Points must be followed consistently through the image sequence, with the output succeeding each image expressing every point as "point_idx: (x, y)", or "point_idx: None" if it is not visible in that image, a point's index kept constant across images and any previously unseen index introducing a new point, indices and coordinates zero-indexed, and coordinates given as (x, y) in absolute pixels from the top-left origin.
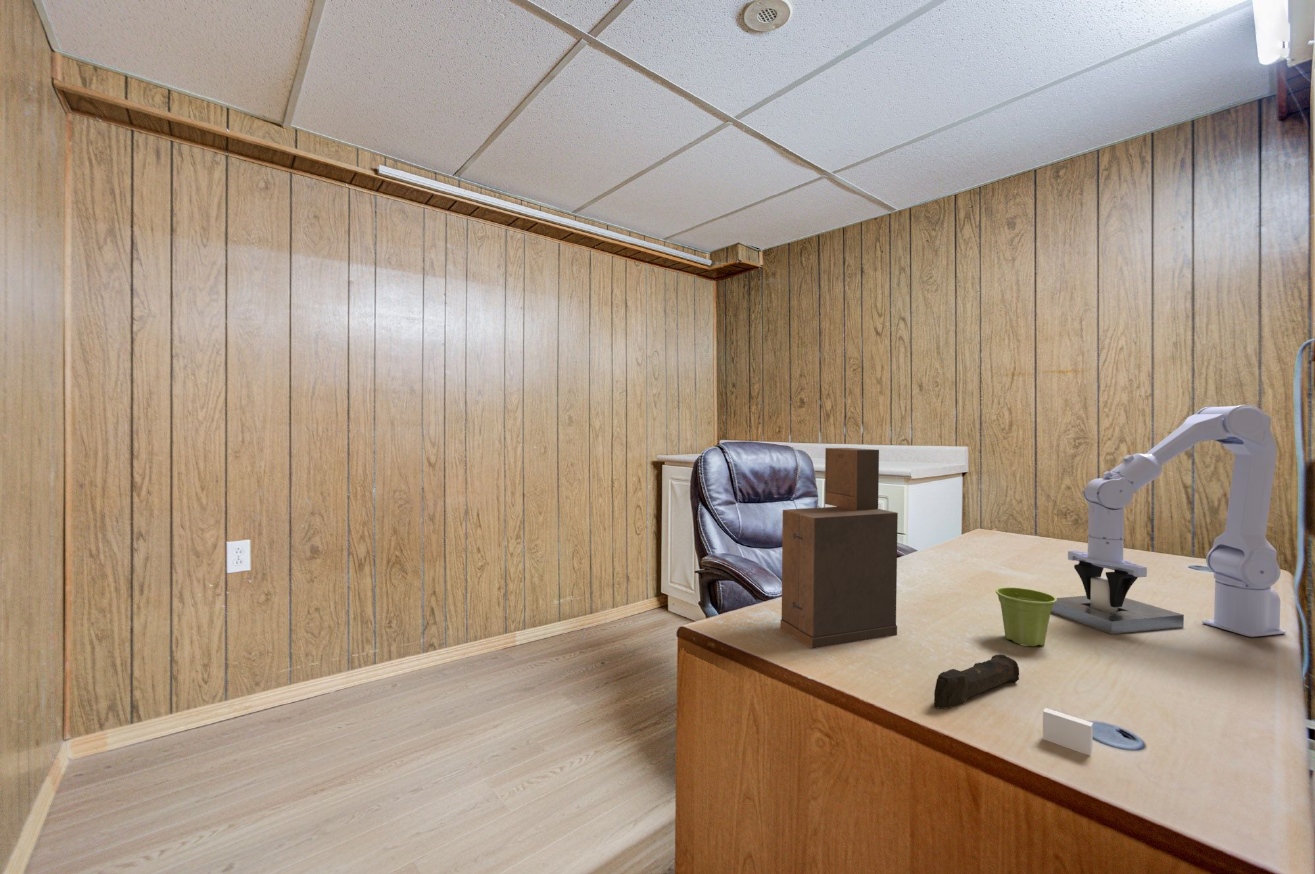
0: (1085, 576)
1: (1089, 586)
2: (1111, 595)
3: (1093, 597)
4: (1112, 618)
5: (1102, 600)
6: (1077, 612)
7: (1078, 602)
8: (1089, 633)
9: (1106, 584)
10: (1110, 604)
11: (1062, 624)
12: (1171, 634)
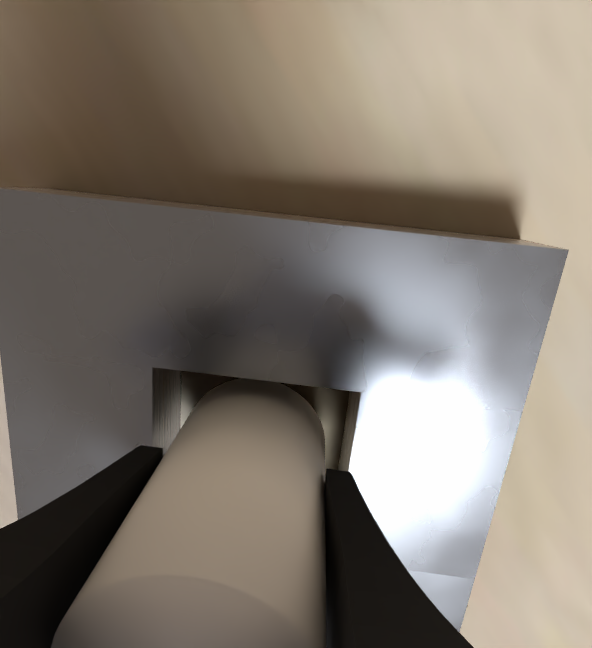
0: (357, 625)
1: (334, 554)
2: (98, 490)
3: (261, 445)
4: (38, 266)
5: (188, 440)
6: (262, 215)
7: (386, 413)
8: (87, 58)
9: (96, 576)
10: (158, 454)
11: (270, 50)
12: (8, 499)
